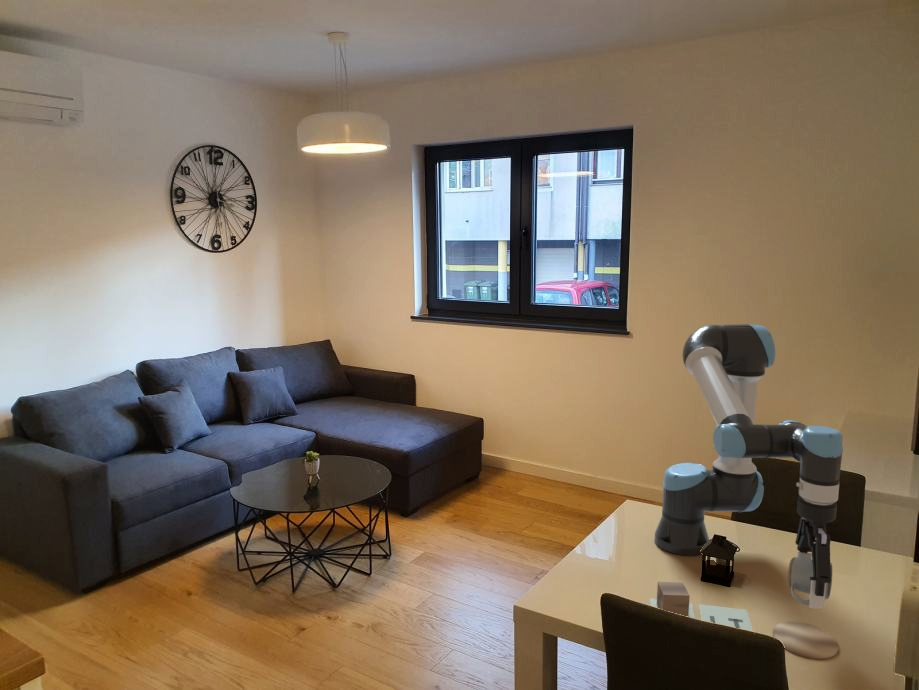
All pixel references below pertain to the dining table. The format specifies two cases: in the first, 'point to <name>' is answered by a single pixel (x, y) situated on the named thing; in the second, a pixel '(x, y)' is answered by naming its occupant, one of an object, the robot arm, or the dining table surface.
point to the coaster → (806, 640)
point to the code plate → (726, 616)
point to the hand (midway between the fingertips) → (809, 593)
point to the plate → (691, 613)
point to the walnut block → (673, 597)
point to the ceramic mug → (803, 578)
